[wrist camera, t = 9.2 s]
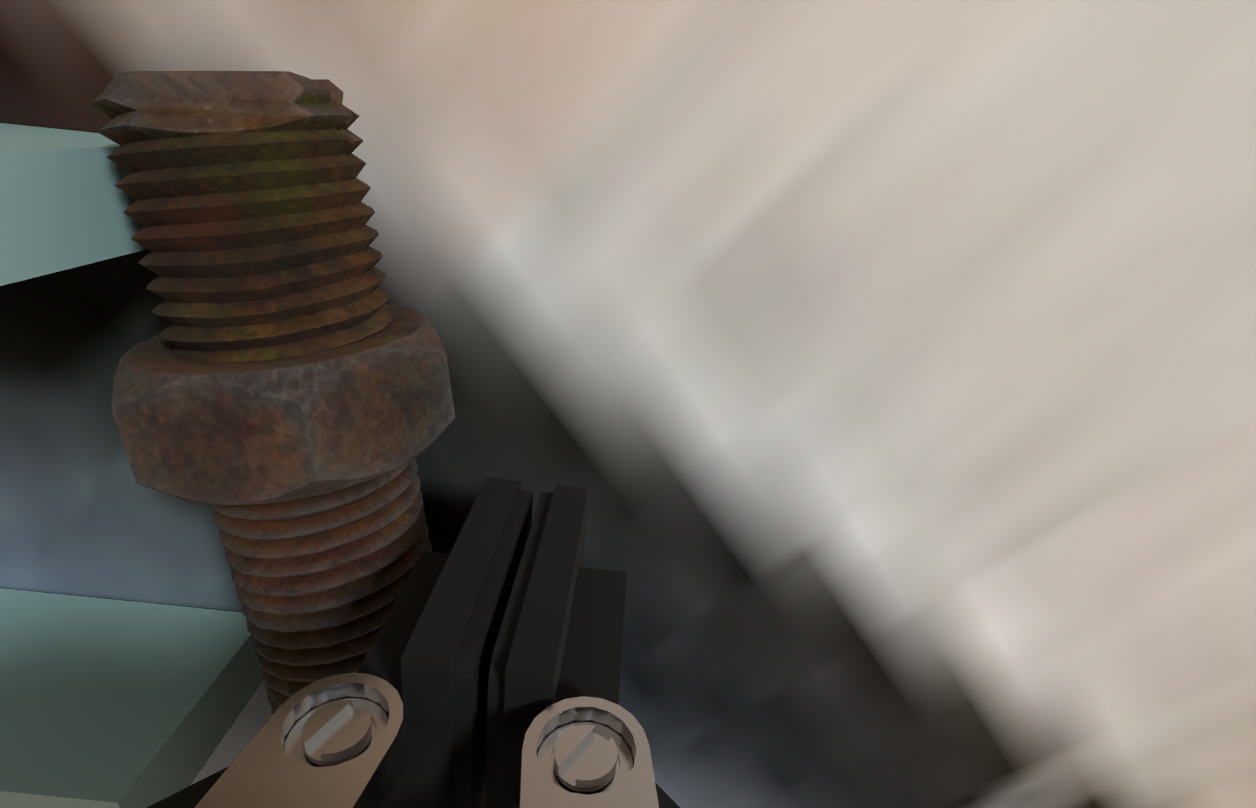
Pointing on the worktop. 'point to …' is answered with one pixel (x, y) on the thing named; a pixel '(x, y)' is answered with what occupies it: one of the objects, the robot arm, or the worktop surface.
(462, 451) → the worktop surface
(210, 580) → the worktop surface
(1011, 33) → the worktop surface
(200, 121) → the bolt
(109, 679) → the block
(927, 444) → the worktop surface
